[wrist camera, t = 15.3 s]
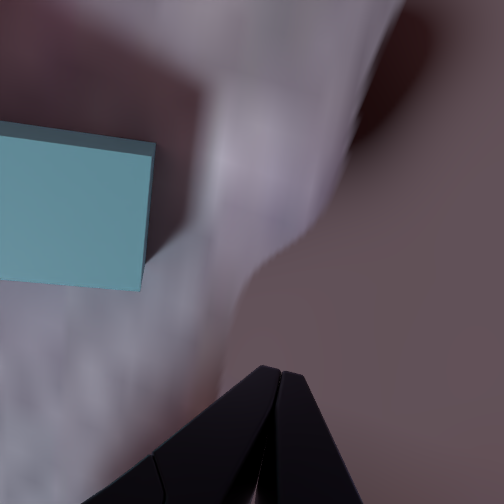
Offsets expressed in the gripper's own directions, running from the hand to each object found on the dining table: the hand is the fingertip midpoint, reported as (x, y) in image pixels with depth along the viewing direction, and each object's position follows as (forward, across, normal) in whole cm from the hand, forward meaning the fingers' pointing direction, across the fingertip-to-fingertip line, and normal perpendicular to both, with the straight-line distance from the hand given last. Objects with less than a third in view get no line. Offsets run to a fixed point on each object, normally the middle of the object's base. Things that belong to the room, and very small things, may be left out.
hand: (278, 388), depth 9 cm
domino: (+8, +6, 0) cm, 10 cm away
